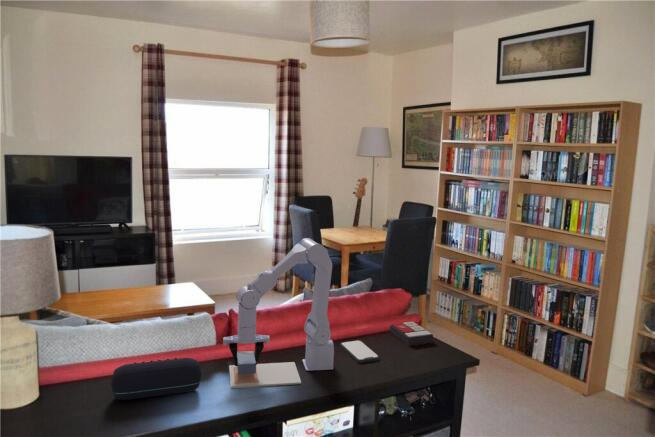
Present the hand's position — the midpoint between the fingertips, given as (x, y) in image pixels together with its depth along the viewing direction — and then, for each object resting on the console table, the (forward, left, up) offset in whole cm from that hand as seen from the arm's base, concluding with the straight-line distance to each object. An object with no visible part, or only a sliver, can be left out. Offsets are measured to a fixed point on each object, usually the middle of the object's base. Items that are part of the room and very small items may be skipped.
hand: (245, 364), depth 167 cm
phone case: (-42, -13, -5) cm, 44 cm away
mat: (-6, 0, -4) cm, 7 cm away
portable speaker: (+27, +7, -5) cm, 28 cm away
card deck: (0, 0, -1) cm, 1 cm away
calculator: (-67, -25, -5) cm, 71 cm away
